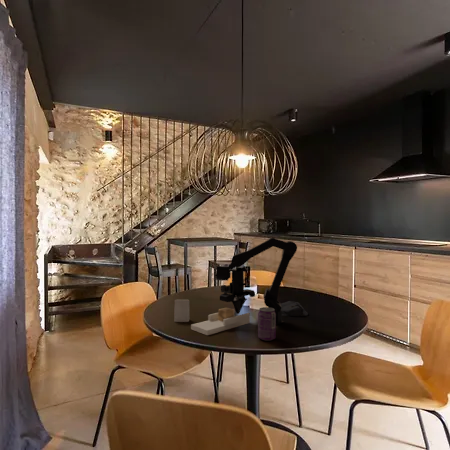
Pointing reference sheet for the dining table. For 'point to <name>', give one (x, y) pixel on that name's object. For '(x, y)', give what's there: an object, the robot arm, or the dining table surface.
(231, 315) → the oak block
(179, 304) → the grey box
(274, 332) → the beverage can
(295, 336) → the dining table surface
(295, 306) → the dark slate chunk
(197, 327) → the trap channel
